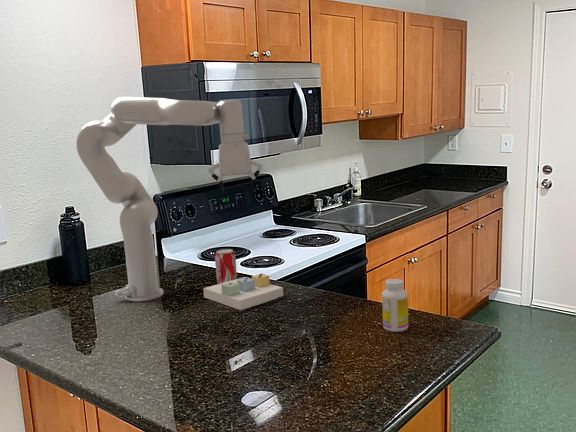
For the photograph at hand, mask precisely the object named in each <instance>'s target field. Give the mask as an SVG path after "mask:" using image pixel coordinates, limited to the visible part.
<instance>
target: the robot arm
mask: <svg viewBox="0 0 576 432" xmlns="http://www.w3.org/2000/svg"><path fill="white" fill-rule="evenodd" d="M243 117H244V116H243V106H242V102H241V101H240V100H239V99H227V100H226V99H225V100H221V101H209V100H191V99H190V100H186V99H171V98H167V97H148V96H147V97H146V96H145V97H143V96H121V97H117V98H116V99H115V100H113V102H112V104H111V107H110V114H108V115H107V116H106V117H105V118H104V119H103V120H102V119H101V120H92V121H90V122H87V123H86V124H85V125H83V126H82V127H81V129H80V131H79V132H78V134H77V137H76V151H77V154H78V156H79V158H80V160H81V162H82V163H83V165H84V166H85V168H86V170H87V171H88V172H89V173H90V175H91V177H92V178H93V180H94V181H95V183H96V184H97V186H98V187H99V189H100V190H101V191H102V193H103V195H104V196H105V198H106V199H107V200H108V201H109V202H111V203H112V204H116V205H117V204H122V206H123V207H124V208H123V209H122V210H121V212H120V215H119V226H120V229H121V230H120V231H121V234H122V239H123V246H124V255H125V264H126V265H125V267H126V274H127V281H128V282H127V283H128V284H125V287H123V288H122V289H117V290H114V295H115V296H116V297H119V296H122V297H124V299H125V300H126V301H129V302H146V301H147V302H148V301H152V300H156V299H158V298H161V297H162V296H163V295H164V294H165V293H164V289H163V288H161V287H159V280H158V279H159V278H158V272H157V259H156V250H155V248H156V247H155V242H154V241H155V240H154V235H153V232H152V231H153V230H152V227H151V226H152V224H154V223H155V221H156V220H157V218H158V214H159V212H158V210H159V209H158V207H157V205H156V203H155V202H154V200H153V198H152V197H151V195H150V194H149V192H148V191H147V190H146V188H145V186H144V185H143V184H142V182H141V181H140V179H139V178H137V176H135V175H134V174H132V173H130V172H127V171H122V170H121V169H120V167H119V166H118V165H117V163H116V161H115V159H114V158H113V157H112V156H111V155H110V154H109V153H108V151H107V149H106V148H105V147H110V146H114V145H115V144H117V143H118V142H119V141H120V140H122V139H123V138H124V137H125V136H126V135H127V134H129V132H130V131H132V129H134V127H136V126H137V125H149V126H150V125H151V126H152V125H153V126H169V125H175V126H177V125H178V126H180V125H181V126H200V127H201V126H211V125H216V124H219V133H220V135H219V136H220V143H221V144H219V145H218V163H216V164H215V165H213V166H211V167H209V168H208V170H207V171H208V173H209V174H210V176H211V177H212V178H213V179H214V180H216V182H217V185H218V192H219V193H220V194H221V195H224V194H225V189H224V182H223V179H224V177H226V176H227V177H229V176H242V175H248V176H249V177H250V190H251V193H254V190H256V181H255V180H256V178H257V177H258V176H259V175H260V173H261V170H262V168H263V165H262V164H261V163H259V162H256V161H254V160H252V159H251V155H250V154H251V153H250V148H249V144H248V142H246V140H249V139H250V135H249V134H247V133H246V134H245V128H244V118H243ZM252 166H254V167H256V168H257V169H256V171H254V173H253V172H252ZM218 168H219V174H220V175H219V176H218V175H217V174H216V173H215V170H217V169H218Z"/></svg>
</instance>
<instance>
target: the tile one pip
mask: <svg viewBox="0 0 576 432" xmlns="http://www.w3.org/2000/svg"><path fill="white" fill-rule="evenodd" d="M221 286H222V294H223V295H226V296H229V297H230V296H234V295H237V294H240V286H239V284H238V283H234V282H229V283H225V284H222V285H221Z"/></svg>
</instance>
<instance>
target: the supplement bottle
mask: <svg viewBox="0 0 576 432" xmlns="http://www.w3.org/2000/svg"><path fill="white" fill-rule="evenodd" d="M384 286H385V287H386V288H385V289H384V290H383V291H382V293H381V304H382V305H381V306H382V326H383V328H384V330H386V331H388V332H395V333H397V332H398V333H399V332H404V331H406V330H407V329H409V302H408V301H409V298H408V297H409V296H408V292H407V291H406V290H405V289H403V287H404V280H403V279H400V278H389V279H386V280H385V283H384Z"/></svg>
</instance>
